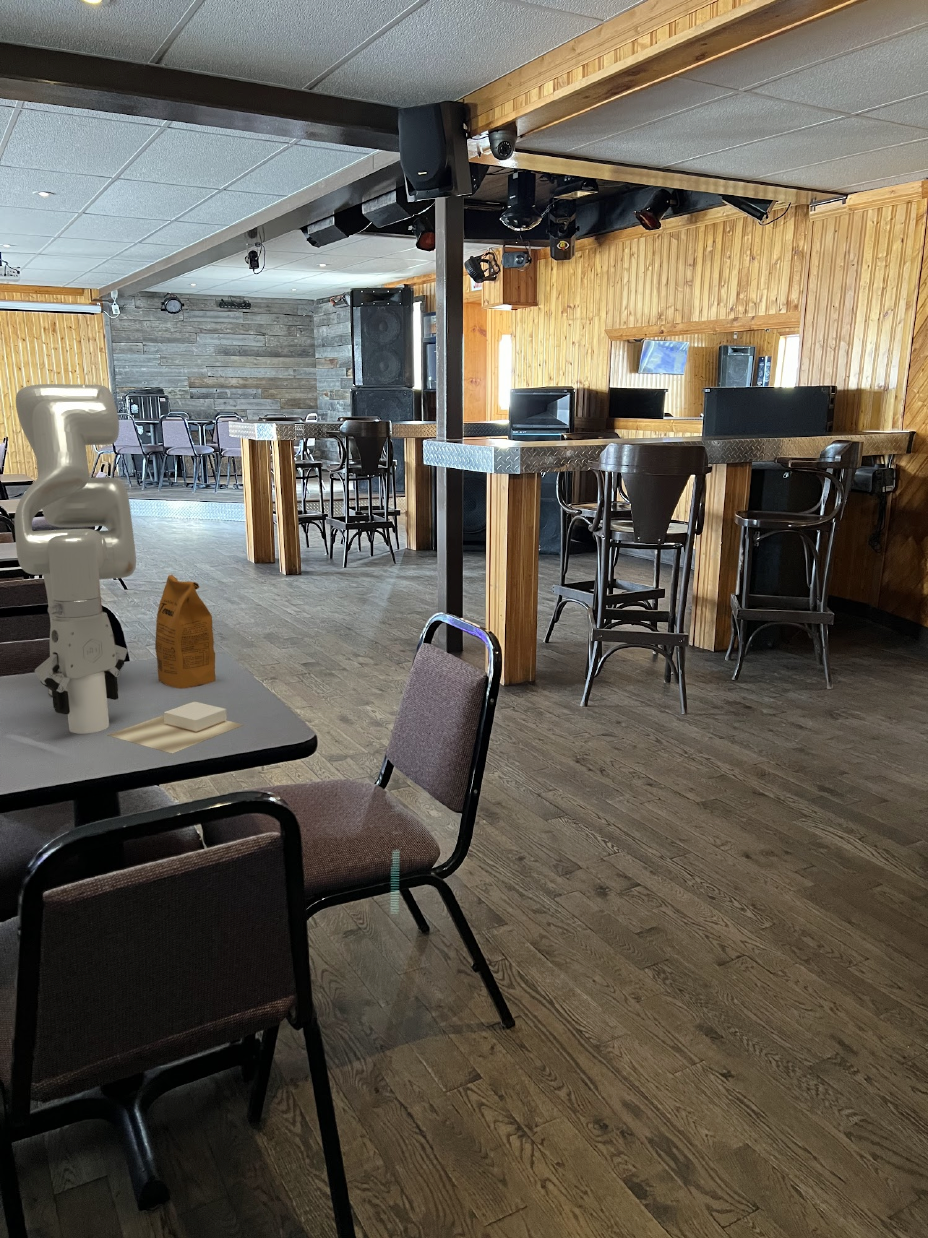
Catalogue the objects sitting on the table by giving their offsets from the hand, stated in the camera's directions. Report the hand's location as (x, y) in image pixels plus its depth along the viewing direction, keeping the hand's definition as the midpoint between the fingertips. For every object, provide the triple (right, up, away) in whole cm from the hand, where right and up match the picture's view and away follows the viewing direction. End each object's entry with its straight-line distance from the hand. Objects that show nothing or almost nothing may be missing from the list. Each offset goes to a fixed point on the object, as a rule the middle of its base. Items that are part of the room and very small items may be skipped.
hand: (87, 705), depth 159 cm
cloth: (+15, -5, 0) cm, 16 cm away
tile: (+14, -2, +5) cm, 15 cm away
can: (0, -5, +2) cm, 5 cm away
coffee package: (+8, +1, +30) cm, 31 cm away
